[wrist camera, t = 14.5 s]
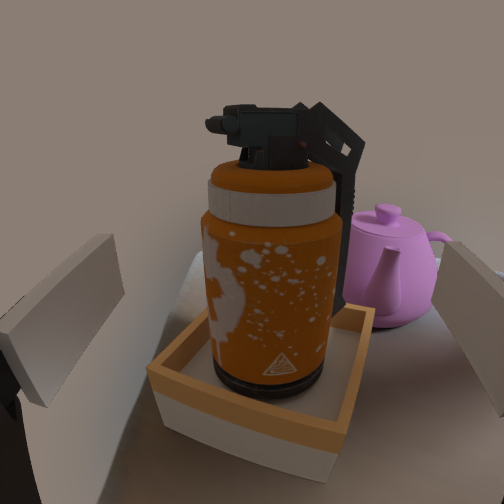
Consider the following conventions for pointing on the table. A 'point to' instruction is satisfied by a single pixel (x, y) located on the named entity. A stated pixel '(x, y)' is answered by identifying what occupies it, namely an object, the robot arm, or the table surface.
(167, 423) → the orange-rimmed open box
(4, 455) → the robot arm
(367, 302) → the teapot
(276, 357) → the canister
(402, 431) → the table surface
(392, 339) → the table surface
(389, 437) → the table surface
